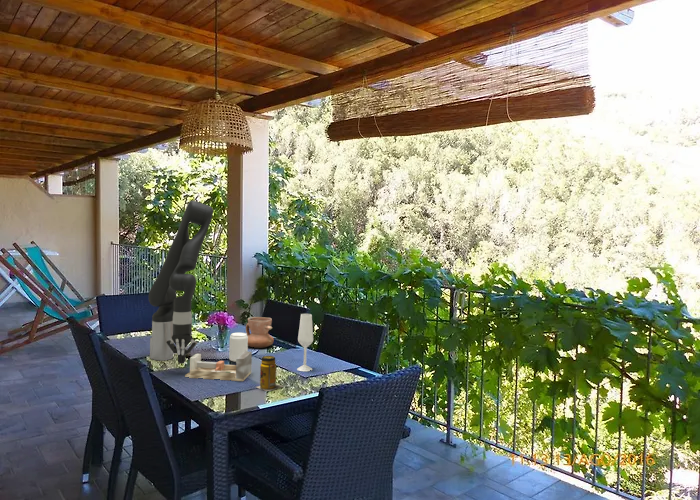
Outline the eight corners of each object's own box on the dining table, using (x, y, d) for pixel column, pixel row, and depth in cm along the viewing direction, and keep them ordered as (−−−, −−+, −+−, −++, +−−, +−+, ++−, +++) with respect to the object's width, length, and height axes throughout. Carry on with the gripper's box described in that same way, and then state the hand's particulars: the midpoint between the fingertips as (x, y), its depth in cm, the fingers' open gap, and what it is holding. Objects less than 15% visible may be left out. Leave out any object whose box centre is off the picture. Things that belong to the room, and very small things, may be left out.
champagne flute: (305, 366, 243) (307, 312, 241) (315, 369, 238) (317, 315, 237) (293, 368, 238) (295, 314, 237) (303, 372, 233) (305, 316, 232)
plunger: (189, 372, 223) (190, 357, 222) (196, 367, 230) (196, 353, 229) (213, 373, 222) (213, 359, 221) (219, 369, 229) (219, 354, 228)
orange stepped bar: (213, 372, 220) (213, 365, 219) (219, 367, 227) (219, 360, 227) (218, 373, 219) (218, 365, 219) (224, 368, 227) (224, 360, 227)
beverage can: (243, 363, 244) (243, 336, 243) (226, 361, 246) (226, 335, 245) (250, 358, 252) (250, 333, 251) (233, 357, 254) (234, 331, 253)
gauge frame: (184, 377, 220) (185, 355, 220) (195, 369, 232) (196, 348, 232) (243, 381, 218) (243, 359, 218) (251, 372, 230) (251, 351, 230)
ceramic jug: (281, 347, 276) (282, 319, 276) (259, 351, 265) (260, 322, 265) (257, 341, 288) (258, 314, 287) (235, 345, 277) (236, 317, 276)
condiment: (255, 387, 211) (255, 356, 211) (271, 382, 218) (272, 353, 217) (267, 391, 207) (268, 360, 206) (284, 387, 213) (285, 356, 212)
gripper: (162, 322, 222) (162, 364, 223) (194, 324, 221) (193, 366, 222) (170, 319, 230) (170, 360, 231) (201, 321, 228) (200, 361, 229)
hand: (181, 363), depth 226 cm, fingers closed
